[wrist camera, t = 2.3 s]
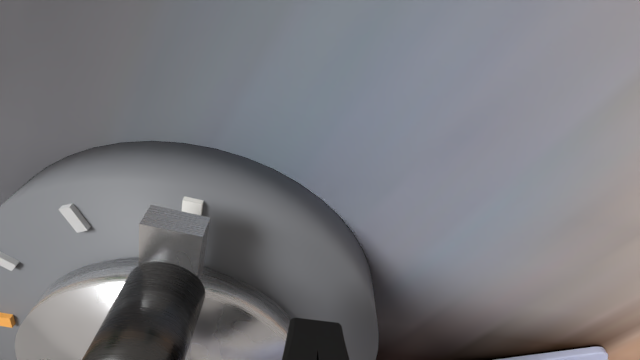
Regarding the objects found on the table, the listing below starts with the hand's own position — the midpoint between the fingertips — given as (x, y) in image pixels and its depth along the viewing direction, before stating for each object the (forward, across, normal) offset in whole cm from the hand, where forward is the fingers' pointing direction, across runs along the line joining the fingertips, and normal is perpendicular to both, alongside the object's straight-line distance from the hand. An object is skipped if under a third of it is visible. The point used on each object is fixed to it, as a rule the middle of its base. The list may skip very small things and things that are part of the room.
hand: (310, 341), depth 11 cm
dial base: (+6, +5, +6) cm, 10 cm away
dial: (+3, +5, +5) cm, 7 cm away
